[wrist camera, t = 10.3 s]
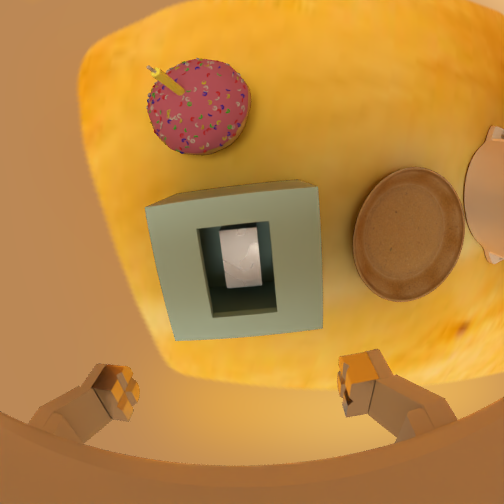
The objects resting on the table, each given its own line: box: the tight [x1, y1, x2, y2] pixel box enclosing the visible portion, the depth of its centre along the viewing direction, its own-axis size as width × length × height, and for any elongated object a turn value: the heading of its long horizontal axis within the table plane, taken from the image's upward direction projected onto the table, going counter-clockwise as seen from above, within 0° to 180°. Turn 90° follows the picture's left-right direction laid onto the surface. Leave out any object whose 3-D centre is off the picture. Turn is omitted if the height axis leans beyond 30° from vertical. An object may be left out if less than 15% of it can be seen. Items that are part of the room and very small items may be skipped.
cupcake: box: [147, 58, 251, 155], centre depth 19 cm, size 9×8×12 cm
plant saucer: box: [353, 167, 465, 302], centre depth 27 cm, size 15×15×3 cm
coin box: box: [145, 179, 323, 341], centre depth 25 cm, size 12×11×9 cm
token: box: [219, 222, 262, 288], centre depth 26 cm, size 3×5×5 cm, turn 6°
